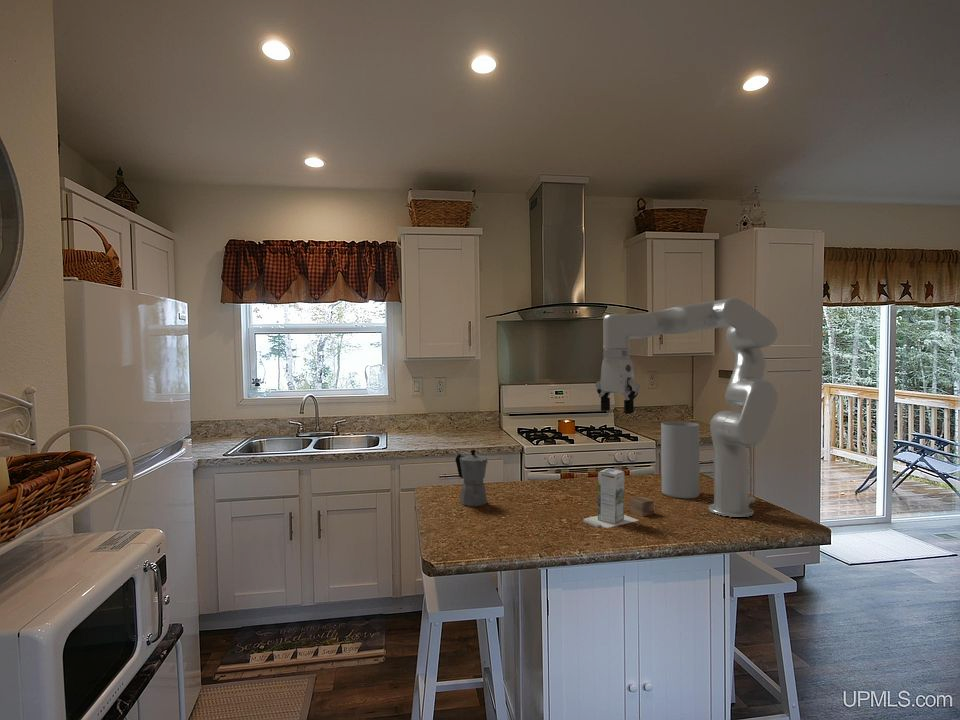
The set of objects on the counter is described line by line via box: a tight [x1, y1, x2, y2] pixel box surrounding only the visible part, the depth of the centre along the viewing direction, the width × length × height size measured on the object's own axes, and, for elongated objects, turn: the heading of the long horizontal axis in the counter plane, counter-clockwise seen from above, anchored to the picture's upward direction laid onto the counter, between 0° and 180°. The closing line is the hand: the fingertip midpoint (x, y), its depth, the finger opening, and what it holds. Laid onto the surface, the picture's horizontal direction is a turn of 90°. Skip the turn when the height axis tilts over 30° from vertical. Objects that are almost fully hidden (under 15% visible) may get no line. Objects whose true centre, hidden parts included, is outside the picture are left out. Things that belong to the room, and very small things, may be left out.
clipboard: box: [582, 514, 640, 529], centre depth 148 cm, size 16×12×1 cm
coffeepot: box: [455, 448, 489, 507], centre depth 171 cm, size 15×9×18 cm, turn 44°
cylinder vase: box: [660, 421, 701, 500], centre depth 178 cm, size 12×12×25 cm
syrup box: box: [597, 468, 625, 524], centre depth 148 cm, size 6×6×14 cm
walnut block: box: [629, 496, 655, 517], centre depth 154 cm, size 5×5×5 cm
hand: (616, 412), depth 151 cm, fingers open, 9 cm apart
